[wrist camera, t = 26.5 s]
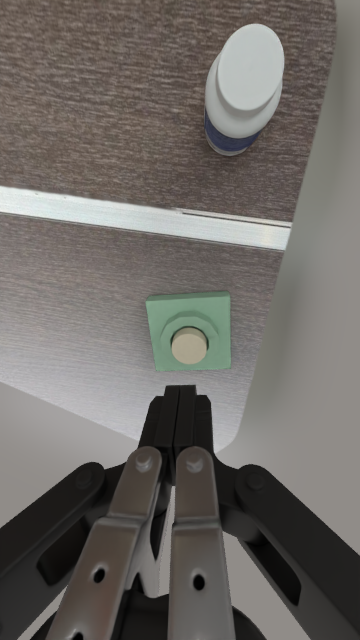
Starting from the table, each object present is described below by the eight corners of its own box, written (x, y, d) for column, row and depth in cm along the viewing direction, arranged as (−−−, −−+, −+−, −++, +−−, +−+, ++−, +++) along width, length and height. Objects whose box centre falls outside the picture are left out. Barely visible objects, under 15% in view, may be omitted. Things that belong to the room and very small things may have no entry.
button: (205, 326, 28) (205, 333, 27) (207, 356, 30) (207, 364, 28) (171, 328, 29) (169, 334, 27) (174, 357, 30) (173, 365, 29)
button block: (228, 290, 30) (232, 301, 26) (229, 359, 34) (232, 377, 30) (148, 295, 31) (141, 306, 27) (158, 362, 35) (153, 379, 31)
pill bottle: (258, 154, 24) (292, 118, 15) (204, 159, 25) (207, 128, 16) (261, 84, 22) (303, -4, 13) (202, 91, 23) (204, 12, 14)
